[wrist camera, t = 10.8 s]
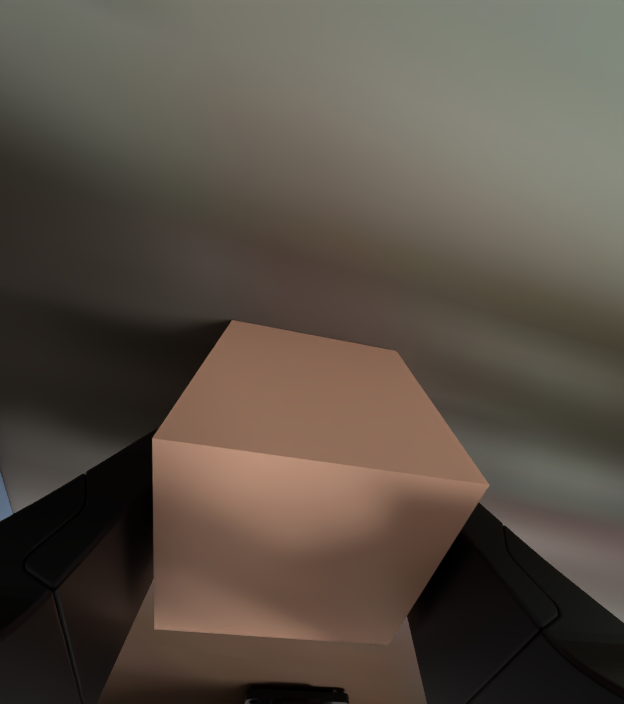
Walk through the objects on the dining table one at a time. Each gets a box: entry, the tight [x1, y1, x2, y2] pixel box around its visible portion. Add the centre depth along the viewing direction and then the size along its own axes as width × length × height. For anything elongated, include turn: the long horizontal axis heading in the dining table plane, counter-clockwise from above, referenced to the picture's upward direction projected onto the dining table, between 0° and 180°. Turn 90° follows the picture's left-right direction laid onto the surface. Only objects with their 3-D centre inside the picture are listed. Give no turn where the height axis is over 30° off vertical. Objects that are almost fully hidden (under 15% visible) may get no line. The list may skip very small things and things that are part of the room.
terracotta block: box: [152, 320, 489, 645], centre depth 8 cm, size 5×5×5 cm
